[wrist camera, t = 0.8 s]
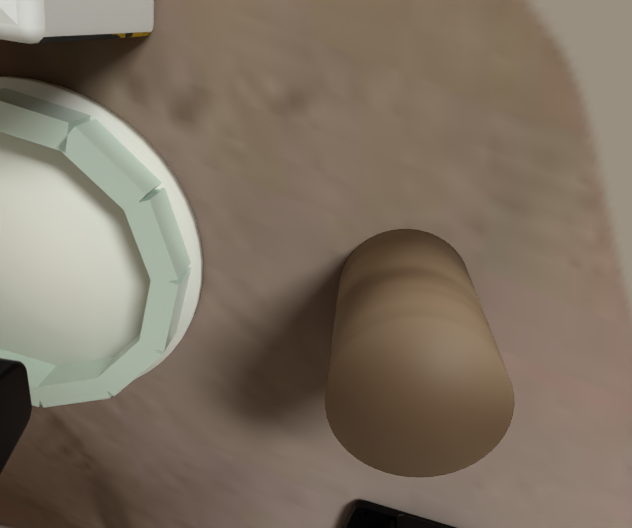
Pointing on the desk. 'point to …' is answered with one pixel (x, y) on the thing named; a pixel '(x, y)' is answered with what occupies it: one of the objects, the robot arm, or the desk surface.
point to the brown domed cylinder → (414, 360)
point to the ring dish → (88, 246)
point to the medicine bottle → (74, 20)
